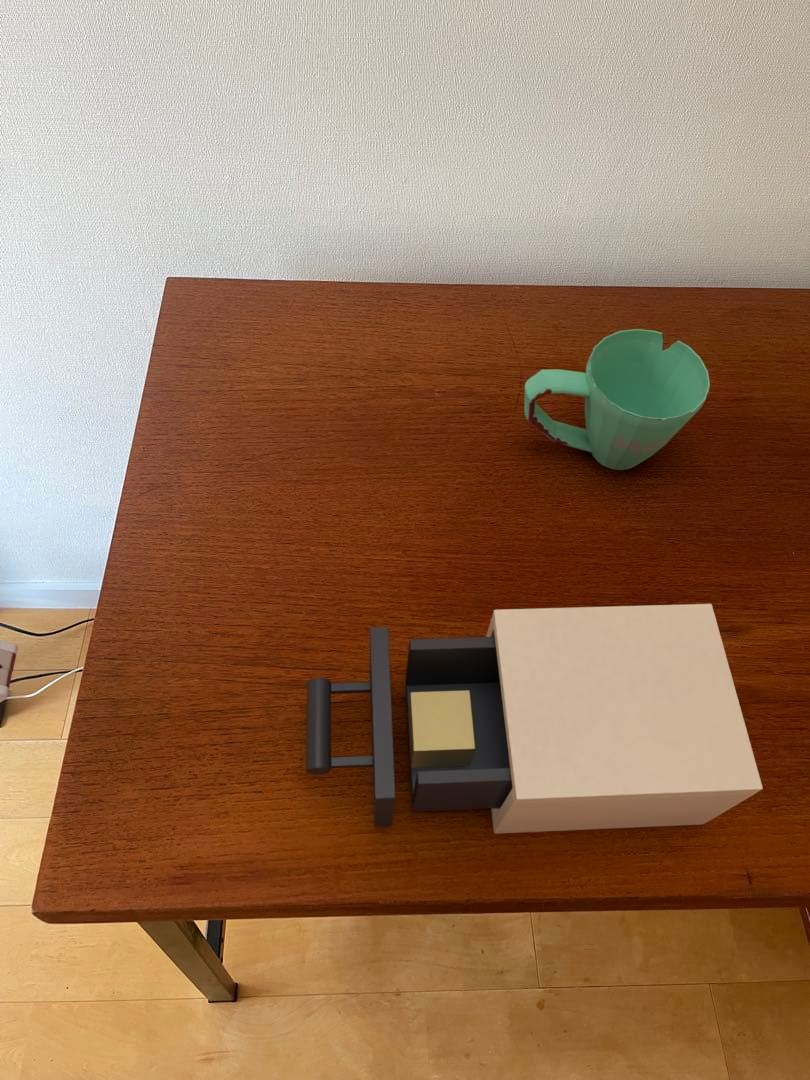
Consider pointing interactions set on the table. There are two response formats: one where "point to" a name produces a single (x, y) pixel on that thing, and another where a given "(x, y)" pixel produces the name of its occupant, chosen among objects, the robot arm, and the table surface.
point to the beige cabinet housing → (618, 718)
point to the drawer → (427, 671)
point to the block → (440, 729)
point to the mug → (624, 397)
